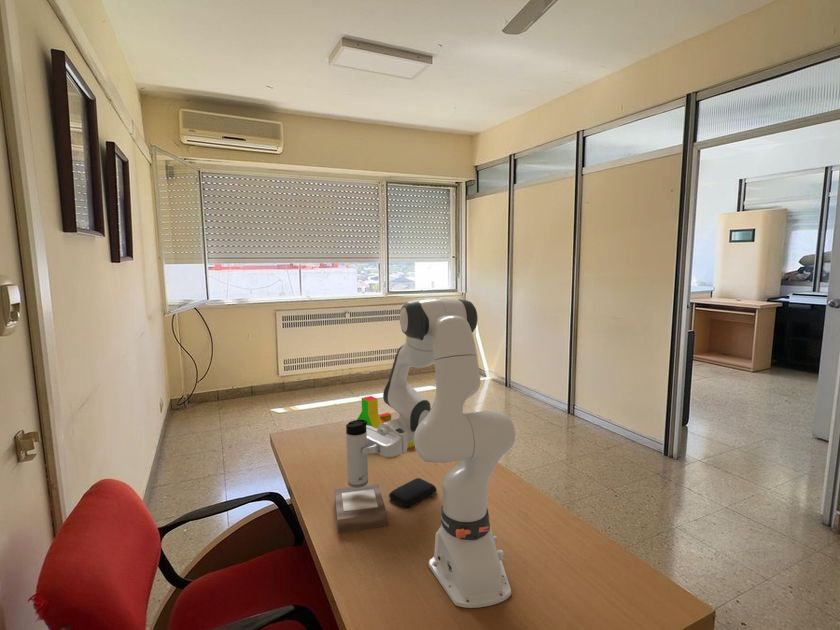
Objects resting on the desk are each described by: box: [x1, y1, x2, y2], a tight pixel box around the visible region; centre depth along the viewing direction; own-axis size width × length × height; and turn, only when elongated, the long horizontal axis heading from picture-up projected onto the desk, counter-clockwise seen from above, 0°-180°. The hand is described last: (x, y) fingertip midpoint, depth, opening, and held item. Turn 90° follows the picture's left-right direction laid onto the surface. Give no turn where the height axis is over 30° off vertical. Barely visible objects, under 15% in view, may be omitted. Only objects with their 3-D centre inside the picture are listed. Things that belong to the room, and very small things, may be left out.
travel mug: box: [345, 419, 369, 488], centre depth 136 cm, size 6×7×20 cm
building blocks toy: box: [356, 395, 415, 449], centre depth 186 cm, size 19×25×18 cm
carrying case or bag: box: [388, 477, 437, 509], centre depth 143 cm, size 11×3×15 cm
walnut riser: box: [334, 483, 388, 534], centre depth 134 cm, size 17×14×4 cm
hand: (354, 447), depth 135 cm, fingers closed on travel mug, 6 cm apart
